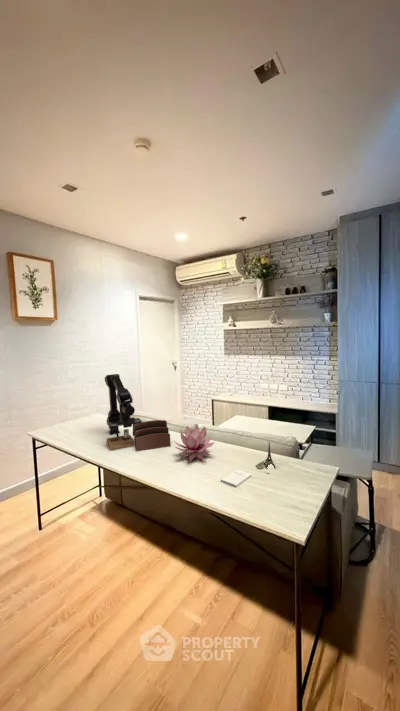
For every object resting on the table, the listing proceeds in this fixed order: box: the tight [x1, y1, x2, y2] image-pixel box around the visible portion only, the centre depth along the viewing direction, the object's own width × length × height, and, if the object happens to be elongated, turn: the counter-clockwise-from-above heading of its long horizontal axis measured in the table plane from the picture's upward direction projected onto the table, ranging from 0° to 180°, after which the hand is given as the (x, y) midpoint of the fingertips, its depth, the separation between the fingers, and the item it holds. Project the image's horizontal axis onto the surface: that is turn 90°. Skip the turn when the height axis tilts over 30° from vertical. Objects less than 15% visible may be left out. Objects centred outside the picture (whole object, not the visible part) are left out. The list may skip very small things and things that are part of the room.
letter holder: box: [133, 419, 172, 452], centre depth 175 cm, size 10×20×14 cm, turn 107°
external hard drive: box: [220, 468, 252, 488], centre depth 132 cm, size 2×8×12 cm
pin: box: [123, 428, 130, 440], centre depth 180 cm, size 3×3×8 cm
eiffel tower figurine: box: [255, 442, 277, 475], centre depth 144 cm, size 15×10×13 cm
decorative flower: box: [173, 424, 215, 462], centre depth 157 cm, size 21×21×15 cm
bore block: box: [106, 433, 135, 452], centre depth 178 cm, size 12×14×4 cm
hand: (126, 437), depth 179 cm, fingers open, 9 cm apart
